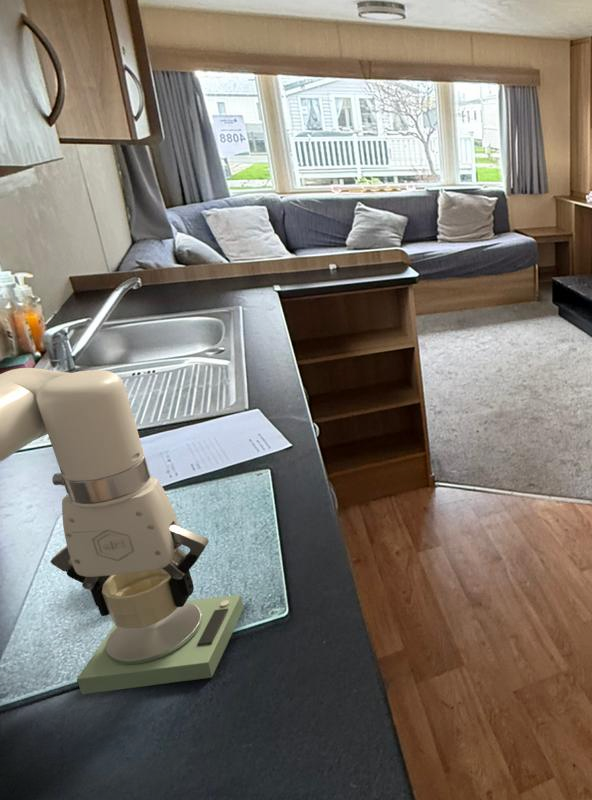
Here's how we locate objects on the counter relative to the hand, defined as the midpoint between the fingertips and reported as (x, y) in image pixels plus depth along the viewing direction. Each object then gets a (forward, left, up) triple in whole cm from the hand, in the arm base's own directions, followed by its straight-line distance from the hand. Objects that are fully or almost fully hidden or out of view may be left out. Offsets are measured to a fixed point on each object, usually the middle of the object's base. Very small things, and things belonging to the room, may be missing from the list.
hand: (148, 603), depth 80 cm
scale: (+1, 0, -7) cm, 7 cm away
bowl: (0, 0, -1) cm, 1 cm away
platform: (0, 0, -5) cm, 5 cm away
